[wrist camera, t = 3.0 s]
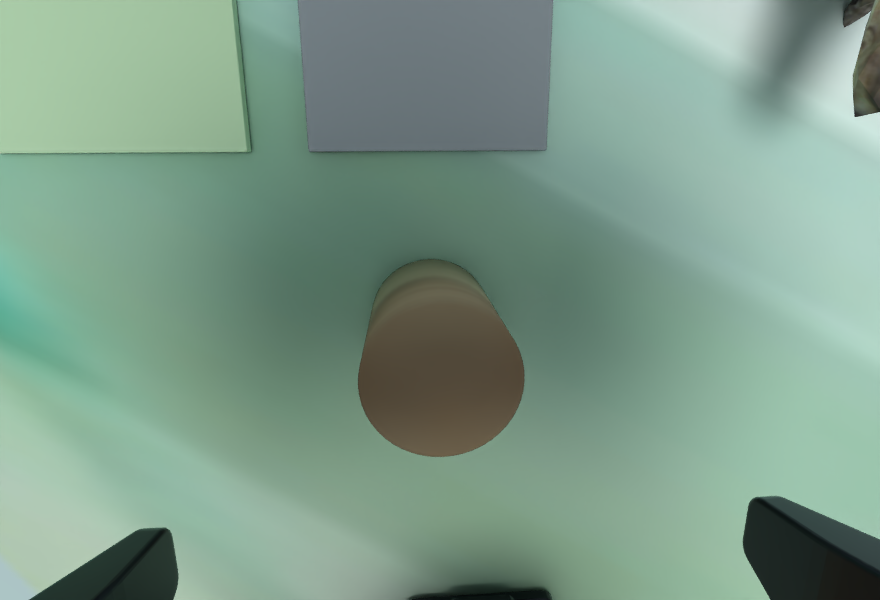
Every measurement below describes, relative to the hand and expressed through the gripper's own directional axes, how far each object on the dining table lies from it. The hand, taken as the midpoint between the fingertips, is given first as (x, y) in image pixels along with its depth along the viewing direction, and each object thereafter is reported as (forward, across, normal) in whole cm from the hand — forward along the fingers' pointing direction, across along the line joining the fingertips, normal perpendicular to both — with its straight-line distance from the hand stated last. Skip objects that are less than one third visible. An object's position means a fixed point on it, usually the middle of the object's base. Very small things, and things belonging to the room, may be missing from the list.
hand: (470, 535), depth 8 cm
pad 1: (+12, +10, -10) cm, 18 cm away
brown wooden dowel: (+12, 0, 0) cm, 12 cm away
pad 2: (+12, 0, -10) cm, 15 cm away
